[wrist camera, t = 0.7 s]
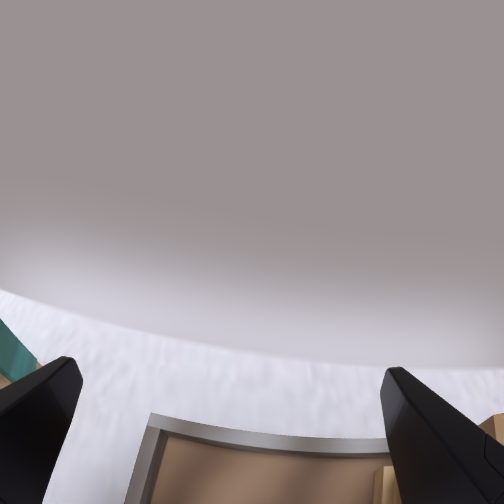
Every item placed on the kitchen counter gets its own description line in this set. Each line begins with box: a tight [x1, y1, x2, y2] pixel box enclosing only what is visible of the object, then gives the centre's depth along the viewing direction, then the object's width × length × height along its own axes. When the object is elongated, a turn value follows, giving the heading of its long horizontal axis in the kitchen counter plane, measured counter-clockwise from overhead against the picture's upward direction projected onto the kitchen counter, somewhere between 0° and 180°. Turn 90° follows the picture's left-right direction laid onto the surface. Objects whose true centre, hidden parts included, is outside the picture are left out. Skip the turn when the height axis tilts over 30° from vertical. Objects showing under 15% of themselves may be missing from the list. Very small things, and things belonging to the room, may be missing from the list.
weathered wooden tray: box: [124, 413, 504, 504], centre depth 12 cm, size 22×10×14 cm, turn 81°
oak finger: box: [0, 319, 43, 389], centre depth 17 cm, size 5×5×13 cm
